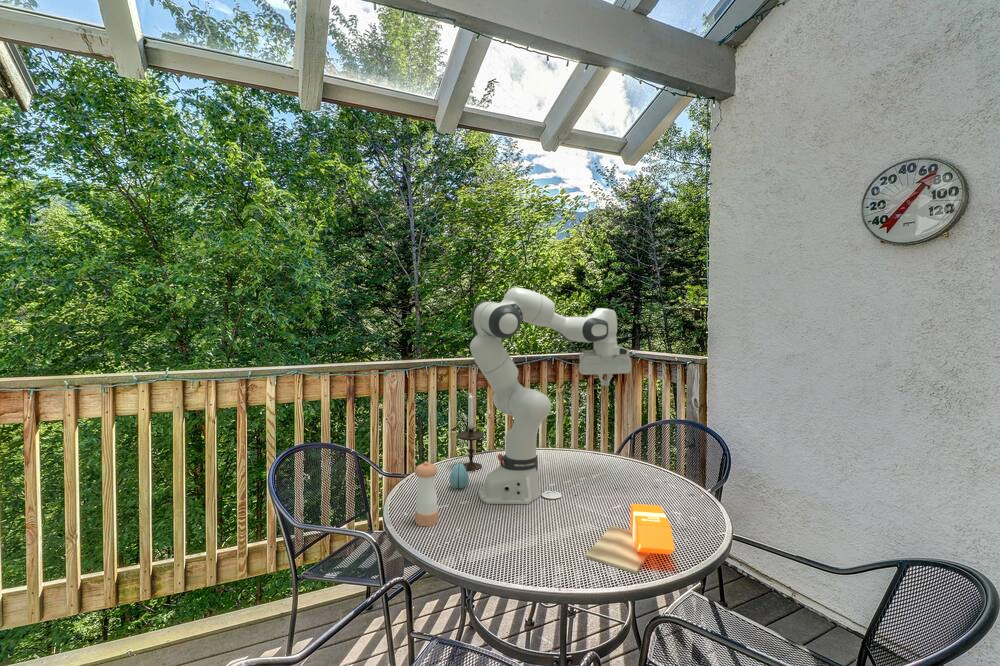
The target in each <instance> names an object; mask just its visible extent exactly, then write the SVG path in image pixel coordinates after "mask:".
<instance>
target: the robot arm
mask: <svg viewBox="0 0 1000 666" xmlns="http://www.w3.org/2000/svg"><path fill="white" fill-rule="evenodd" d="M470 319H471V325H472V331H473V333H474V334H476V336H474V337H473V338H472V340H471V341H470V344H469V349H470V353H471V355H472V358H473V360H474V361H475V362H474V363H475V364H476V365H477V367H478V368H479V370H480V372H481V373H482V375H483V376H484V378H485V379H486V381H487V382H488V384H489V385H490V387H491V389H492V392H493V395H492V400H493V401H492V402H493V405H494V407H495V408H496V409H498V410H499V411H500V412H501V413H503V414H505V415H509V416H512V417H513V418H514V420H513V425H512V428H510V429H509V430H508V431H507V432H506V434H505V454H504V455H503V454H502V453H499V454H497V459H498V461H499V462H500V465H499V466H497V467H496V468H494V470H492V471H491V472H490V473H488V474H487V475H486V477H485V481H484V486H480V488H479V489H478V497H480V498H479V499H480V500H481V502H483V503H485V504H487V505H529V504H531V503H532V501H535V500H536V499H538V498H539V497H541V495H542V492H541V490H540V485H539V479H538V468H539V460H538V458H539V457H538V455H537V438H538V432H539V428H540V426H541V423H542V422H543V421H544V420H545V419H547V417H548V416H549V415H550V413H551V407H552V406H551V405H552V404H551V400H550V398H549V397H548V395H546V394H545V393H543V392H541V391H539V390H537V389H534V388H529V387H524V386H523V385H522V384H521V383H520V382H519V379H518V376H519V368H518V367H517V365H516V363H515V362H514V360H513V359H512V358H511V356H510V354H509V352H508V351H507V350H506V348H505V347H504V345H503V342H502V339H508V338H511V337H513V336H514V335H516V333H517V332H518V331H519V329H520V327H521V323H522V322H524V323H527V324H530V325H533V326H538V327H546V328H548V329H551V330H553V331H555V332H557V333H558V334H559V335H560V337H562V339H564V340H565V341H567V342H580V343H591V344H592V343H593V349H591V350H590V349H589V350H587V349H585V350H582V351H580V353H579V355H578V357H579V365H578V372H579V374H581V375H583V376H584V375H585V376H586V375H589V376H590V375H591V376H592V375H597V377H598V379H599V381H600V386H602V387H603V386H604V387H605V386H610V381H611V379H612V378H613V375H621V374H623V375H624V374H630V373H631V372H632V359H631V357H630V350H629V349H628V348H625V347H622V346H620V345H618V339H617V333H618V317H617V313H616V311H615V310H614V309H612V308H608V307H597V308H595V310H594V311H593V312H592V313H590V314H588V315H586V316H576V315H567V316H563V315H562V314H559V313H557V312H556V307H555V303H554V301H553V300H552V299H551V298H549V297H548V296H546V295H544V294H542V293H539V292H536V291H534V290H531V289H529V288H528V289H527V288H524V287H516V286H515V287H511V288H509V289H508V290H507V291H506V293H505V294H504V295H503V299H502V300H501V301H500V302H496V301H490V300H483V301H480V302H478V303H476V304H474V306H473V308H472V309H471V313H470ZM604 375H606V376H607V378H606V379H605V380H604V379H603V378H604Z"/></svg>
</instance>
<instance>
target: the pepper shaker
mask: <svg viewBox="0 0 1000 666" xmlns="http://www.w3.org/2000/svg"><path fill="white" fill-rule="evenodd" d="M414 469H415V470H414V474H415V476H416V477H417V491H416V499H415V506H416V507H415V509H416V510H415V511H414V513H415V515H414V517H415V518H414V520H415V521H414V522H416V523H415V524H416V525H417V524H418V525H420V526H419V527H423V526H427V527H432V526H435V525H437V524H438V523H439V508H438V497H437V491H436V475H437V473H438V467H437V466H436V465H435V463H432V462H428V461H424V462H423V463H420V464H418V465H417V466H416V467H415V468H414ZM437 522H438V523H437ZM436 523H437V524H436ZM434 524H435V525H434ZM418 525H417V526H418Z"/></svg>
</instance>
